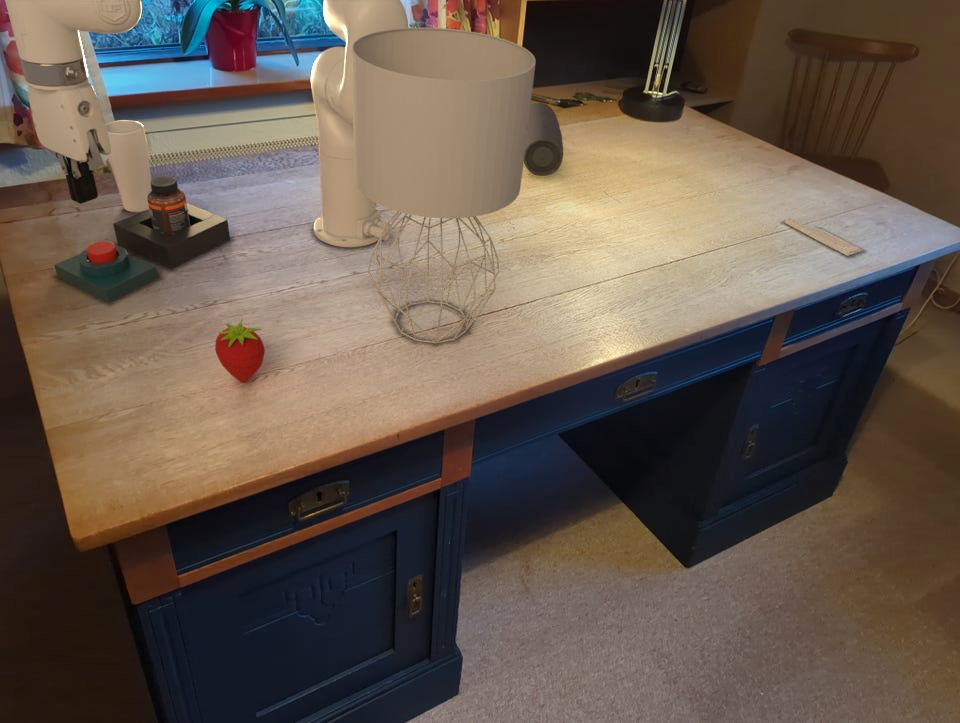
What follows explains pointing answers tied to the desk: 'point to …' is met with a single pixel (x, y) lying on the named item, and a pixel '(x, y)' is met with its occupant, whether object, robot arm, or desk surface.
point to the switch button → (101, 252)
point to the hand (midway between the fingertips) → (85, 199)
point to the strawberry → (240, 351)
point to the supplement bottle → (167, 206)
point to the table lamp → (439, 136)
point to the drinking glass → (130, 163)
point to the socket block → (172, 237)
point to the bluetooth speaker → (543, 141)
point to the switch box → (107, 274)
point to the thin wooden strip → (825, 238)
